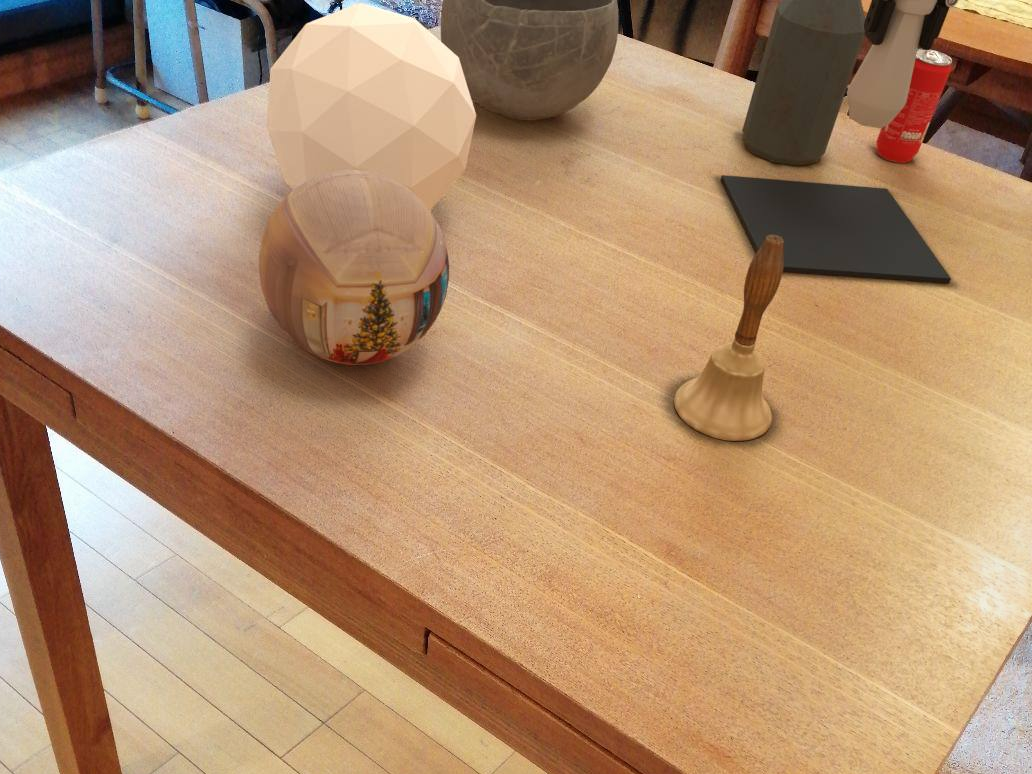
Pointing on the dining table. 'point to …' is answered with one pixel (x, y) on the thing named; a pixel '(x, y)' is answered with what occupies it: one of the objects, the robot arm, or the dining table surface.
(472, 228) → the dining table surface
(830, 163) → the dining table surface
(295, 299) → the ornament
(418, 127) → the ball
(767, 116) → the bottle
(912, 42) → the salt shaker
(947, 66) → the beverage can
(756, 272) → the hand bell
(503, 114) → the bowl
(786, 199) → the mat
